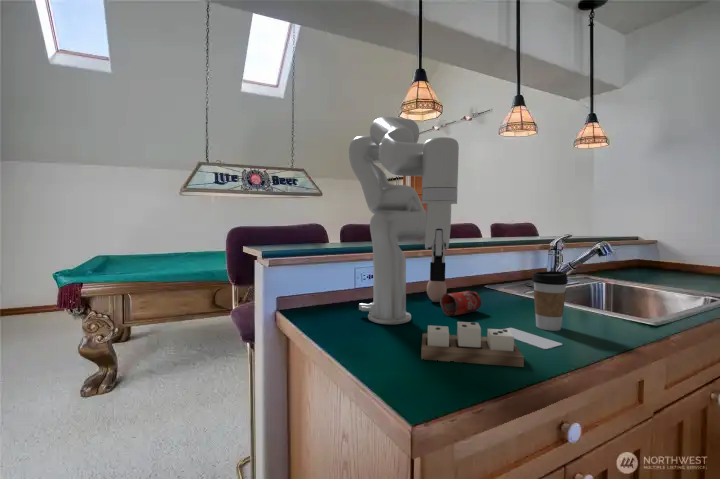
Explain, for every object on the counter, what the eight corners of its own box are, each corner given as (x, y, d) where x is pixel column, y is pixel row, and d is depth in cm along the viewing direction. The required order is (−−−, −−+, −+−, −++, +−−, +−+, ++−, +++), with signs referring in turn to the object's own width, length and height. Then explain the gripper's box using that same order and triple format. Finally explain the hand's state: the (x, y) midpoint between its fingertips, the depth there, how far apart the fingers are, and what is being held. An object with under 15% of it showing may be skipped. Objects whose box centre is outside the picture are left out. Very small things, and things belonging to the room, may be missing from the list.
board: (421, 359, 74) (421, 349, 74) (422, 341, 85) (422, 333, 85) (523, 367, 70) (523, 357, 70) (511, 347, 81) (511, 338, 81)
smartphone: (510, 327, 95) (564, 344, 82) (509, 329, 95) (564, 346, 82) (491, 330, 92) (545, 349, 79) (491, 332, 92) (545, 351, 79)
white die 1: (427, 349, 77) (427, 330, 77) (427, 342, 81) (427, 324, 81) (448, 351, 76) (449, 331, 76) (447, 343, 80) (448, 325, 80)
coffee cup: (571, 333, 90) (573, 275, 90) (535, 331, 92) (537, 274, 91) (559, 323, 99) (561, 270, 98) (527, 321, 100) (528, 269, 99)
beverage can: (484, 313, 110) (484, 292, 110) (456, 318, 104) (456, 296, 104) (466, 308, 116) (467, 288, 116) (439, 313, 110) (439, 292, 110)
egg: (443, 305, 120) (443, 276, 119) (423, 302, 123) (424, 275, 123) (448, 301, 126) (449, 274, 125) (430, 299, 129) (430, 272, 128)
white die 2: (458, 346, 76) (458, 326, 75) (457, 339, 80) (457, 320, 80) (480, 347, 75) (481, 327, 74) (477, 340, 79) (478, 321, 79)
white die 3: (490, 353, 74) (490, 334, 74) (487, 346, 79) (487, 327, 78) (513, 355, 73) (513, 335, 73) (508, 347, 78) (509, 328, 78)
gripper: (422, 198, 85) (421, 273, 86) (420, 195, 70) (419, 286, 72) (455, 198, 83) (452, 275, 85) (460, 195, 69) (457, 288, 70)
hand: (437, 280), depth 78 cm, fingers closed
